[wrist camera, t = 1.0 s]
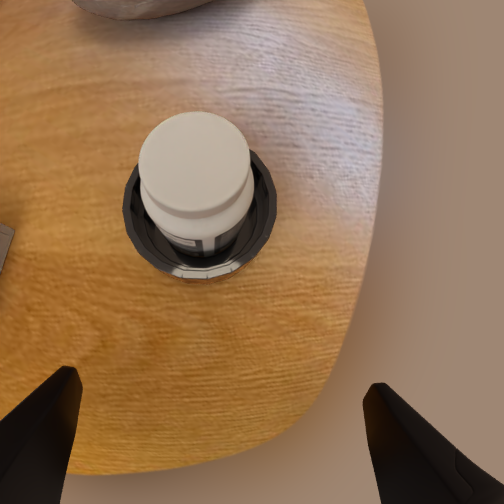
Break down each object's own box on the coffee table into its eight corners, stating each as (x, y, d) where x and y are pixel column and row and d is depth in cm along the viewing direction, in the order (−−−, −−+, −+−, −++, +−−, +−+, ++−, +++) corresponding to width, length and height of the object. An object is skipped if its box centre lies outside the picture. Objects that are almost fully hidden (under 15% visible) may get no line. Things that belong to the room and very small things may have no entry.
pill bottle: (224, 170, 23) (235, 86, 13) (254, 242, 22) (286, 195, 13) (150, 197, 22) (114, 124, 12) (176, 272, 21) (148, 245, 12)
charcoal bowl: (239, 302, 22) (247, 302, 17) (120, 257, 21) (99, 245, 17) (280, 186, 24) (295, 161, 19) (168, 147, 23) (161, 115, 19)
